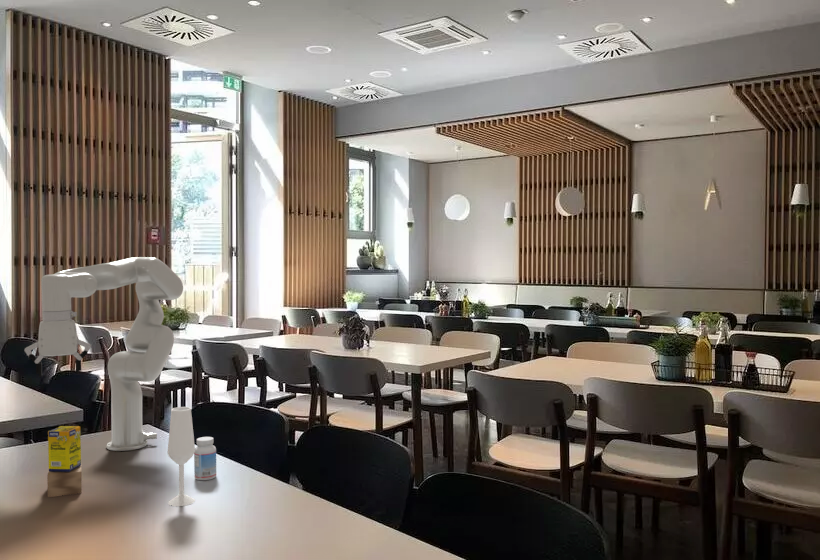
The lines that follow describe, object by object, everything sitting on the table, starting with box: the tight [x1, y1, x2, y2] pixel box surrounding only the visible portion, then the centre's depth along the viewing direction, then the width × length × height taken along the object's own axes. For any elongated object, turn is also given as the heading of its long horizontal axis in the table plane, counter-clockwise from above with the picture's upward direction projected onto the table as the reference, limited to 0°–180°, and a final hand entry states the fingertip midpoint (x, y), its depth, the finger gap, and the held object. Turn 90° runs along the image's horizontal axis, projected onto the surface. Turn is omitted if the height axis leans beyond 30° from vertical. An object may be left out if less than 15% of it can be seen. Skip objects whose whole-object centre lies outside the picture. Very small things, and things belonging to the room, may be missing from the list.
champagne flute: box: [167, 406, 196, 507], centre depth 177 cm, size 7×7×24 cm
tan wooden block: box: [46, 462, 83, 498], centre depth 185 cm, size 8×8×6 cm
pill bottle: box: [193, 436, 217, 481], centre depth 197 cm, size 6×6×11 cm
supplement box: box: [47, 425, 82, 472], centre depth 185 cm, size 6×6×11 cm
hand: (59, 374), depth 202 cm, fingers open, 9 cm apart
